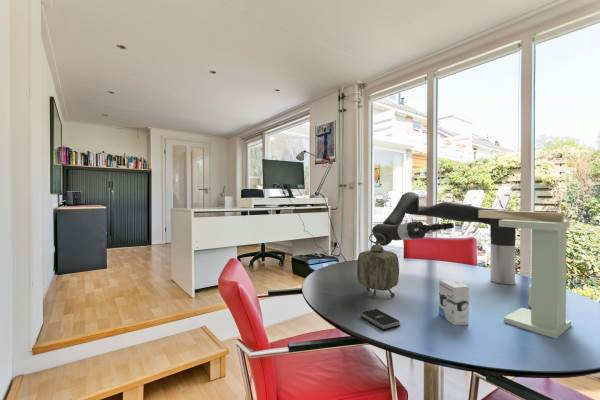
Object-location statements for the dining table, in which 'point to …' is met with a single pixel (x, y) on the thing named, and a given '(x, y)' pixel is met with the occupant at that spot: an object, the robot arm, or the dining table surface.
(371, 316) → the external hard drive
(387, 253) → the tabletop clock
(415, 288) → the dining table surface
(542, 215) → the ash rod
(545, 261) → the shelf stand
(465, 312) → the ink box
